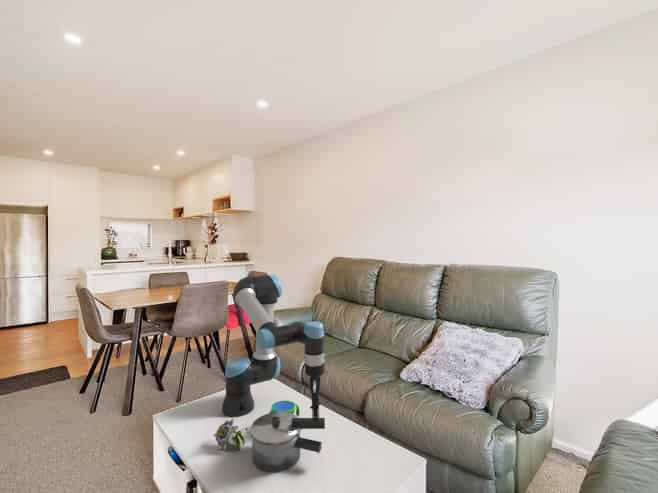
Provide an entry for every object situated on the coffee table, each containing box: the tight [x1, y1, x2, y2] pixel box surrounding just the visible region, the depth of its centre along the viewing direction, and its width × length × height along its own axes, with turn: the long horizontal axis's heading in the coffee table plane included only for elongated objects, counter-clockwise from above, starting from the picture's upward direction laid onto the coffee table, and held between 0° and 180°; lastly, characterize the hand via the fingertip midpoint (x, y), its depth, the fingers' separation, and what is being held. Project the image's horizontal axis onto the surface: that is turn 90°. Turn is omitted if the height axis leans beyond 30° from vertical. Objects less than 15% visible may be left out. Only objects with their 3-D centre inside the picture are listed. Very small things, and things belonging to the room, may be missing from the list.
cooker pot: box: [251, 432, 323, 474], centre depth 126 cm, size 18×27×10 cm, turn 70°
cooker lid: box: [250, 412, 326, 445], centre depth 127 cm, size 28×19×4 cm
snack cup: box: [268, 399, 301, 417], centre depth 145 cm, size 16×10×10 cm
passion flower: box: [213, 418, 249, 451], centre depth 134 cm, size 11×11×12 cm
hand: (315, 423), depth 129 cm, fingers closed
